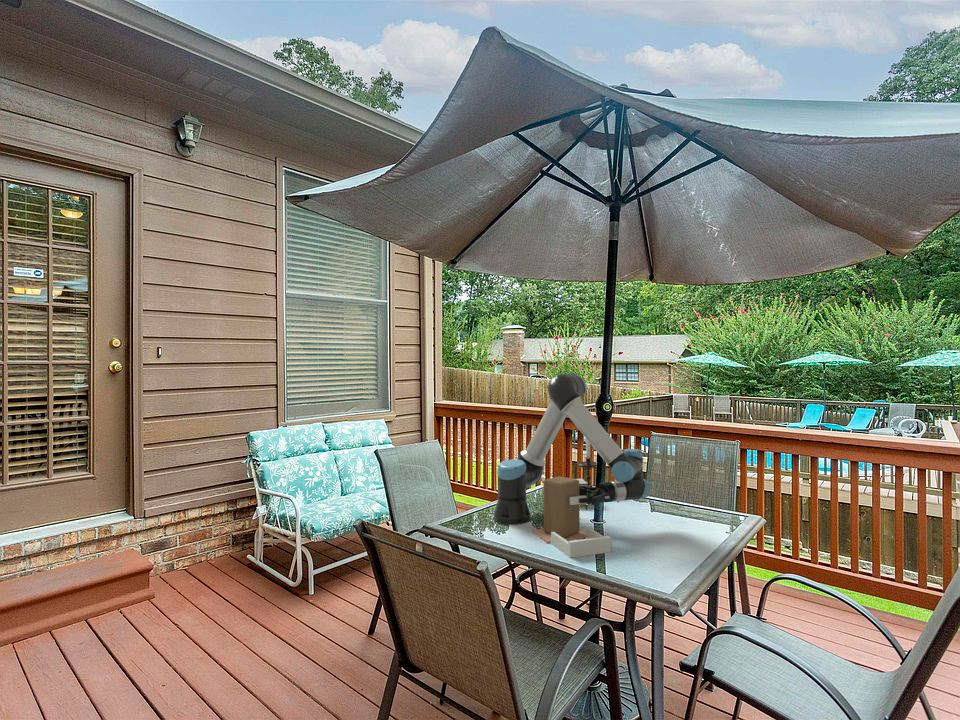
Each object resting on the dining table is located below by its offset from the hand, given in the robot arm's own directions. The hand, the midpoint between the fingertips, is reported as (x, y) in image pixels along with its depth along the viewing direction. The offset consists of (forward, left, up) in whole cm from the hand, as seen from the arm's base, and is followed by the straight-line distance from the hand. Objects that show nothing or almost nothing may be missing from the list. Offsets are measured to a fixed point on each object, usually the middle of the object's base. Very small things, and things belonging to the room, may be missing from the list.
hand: (561, 496), depth 198 cm
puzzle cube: (+26, +37, -15) cm, 48 cm away
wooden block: (0, 0, -14) cm, 14 cm away
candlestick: (+41, +51, -14) cm, 67 cm away
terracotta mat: (0, 0, -14) cm, 14 cm away
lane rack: (0, -14, -14) cm, 20 cm away
